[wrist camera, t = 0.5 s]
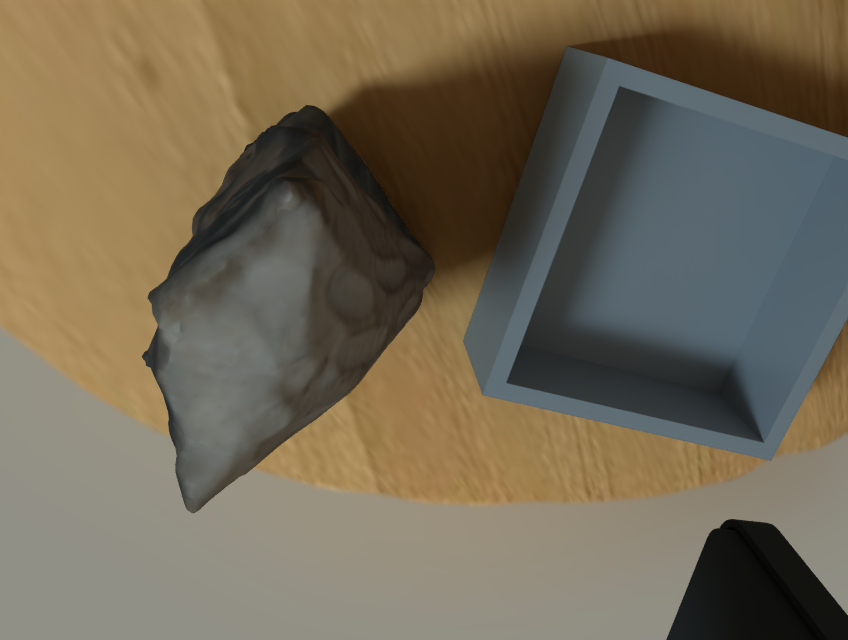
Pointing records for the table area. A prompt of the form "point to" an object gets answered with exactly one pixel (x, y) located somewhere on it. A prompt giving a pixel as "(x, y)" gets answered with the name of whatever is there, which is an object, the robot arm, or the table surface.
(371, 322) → the grey faceted rock
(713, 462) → the table surface
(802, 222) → the bin
